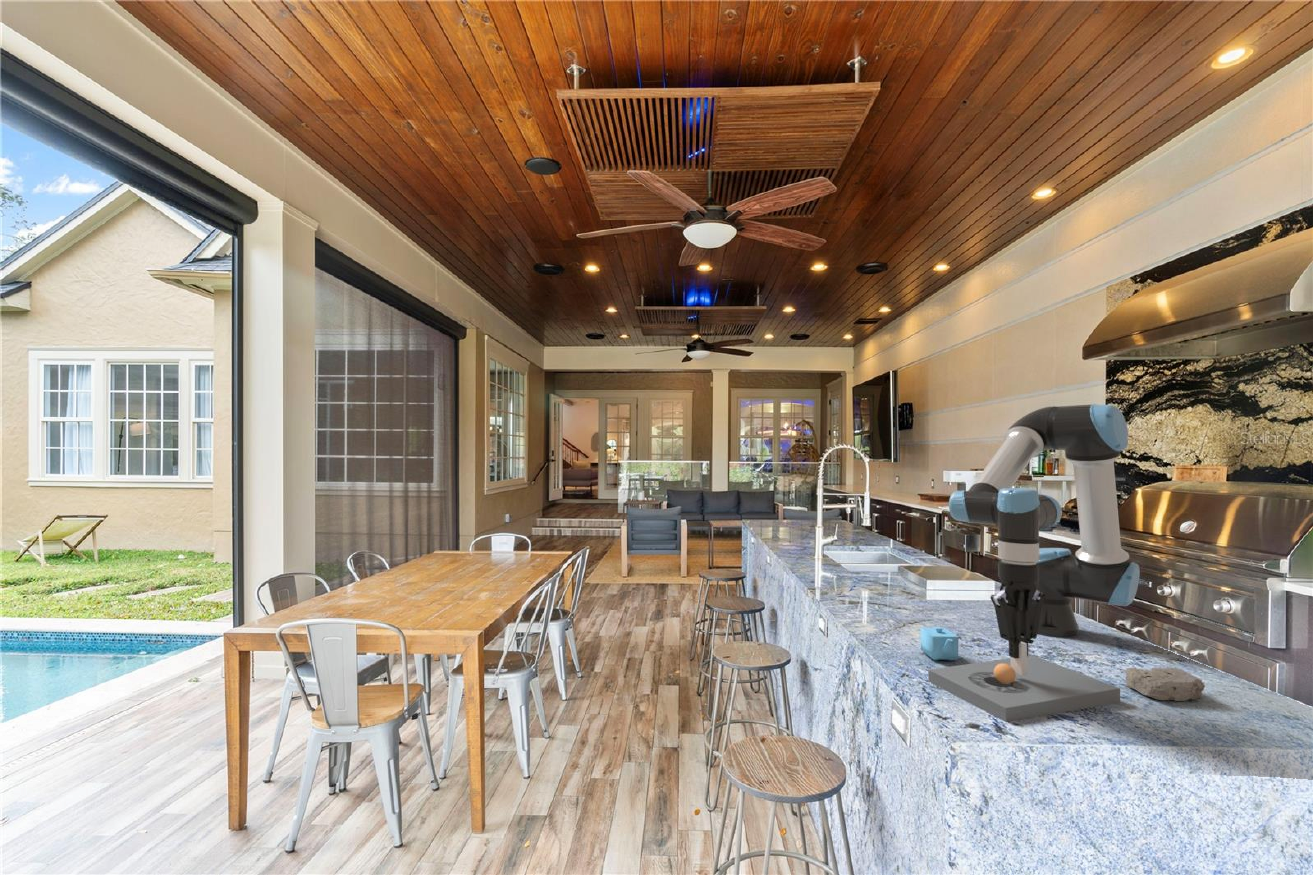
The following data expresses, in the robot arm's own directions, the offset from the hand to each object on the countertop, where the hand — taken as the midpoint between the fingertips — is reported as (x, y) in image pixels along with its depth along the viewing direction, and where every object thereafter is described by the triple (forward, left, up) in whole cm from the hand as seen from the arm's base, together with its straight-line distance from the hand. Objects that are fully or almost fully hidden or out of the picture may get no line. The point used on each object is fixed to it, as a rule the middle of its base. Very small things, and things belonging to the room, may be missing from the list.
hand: (1018, 672), depth 127 cm
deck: (-1, 0, -4) cm, 4 cm away
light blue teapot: (+1, -21, -5) cm, 22 cm away
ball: (+4, 0, 0) cm, 4 cm away
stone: (-30, +4, -2) cm, 30 cm away
